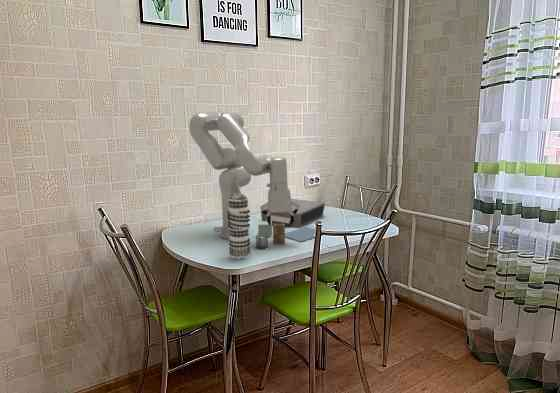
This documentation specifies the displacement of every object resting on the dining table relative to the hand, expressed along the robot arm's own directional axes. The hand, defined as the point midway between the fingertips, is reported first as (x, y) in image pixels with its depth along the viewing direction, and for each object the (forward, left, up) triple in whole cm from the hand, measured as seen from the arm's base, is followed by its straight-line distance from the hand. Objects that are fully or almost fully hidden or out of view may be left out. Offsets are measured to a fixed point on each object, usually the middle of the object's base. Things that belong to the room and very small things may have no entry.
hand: (280, 224), depth 183 cm
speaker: (+4, +40, -9) cm, 41 cm away
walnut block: (-1, 0, -8) cm, 8 cm away
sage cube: (-8, +11, -9) cm, 16 cm away
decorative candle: (-16, -17, -9) cm, 25 cm away
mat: (+10, +11, -8) cm, 17 cm away
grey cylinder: (-8, -7, -8) cm, 13 cm away
